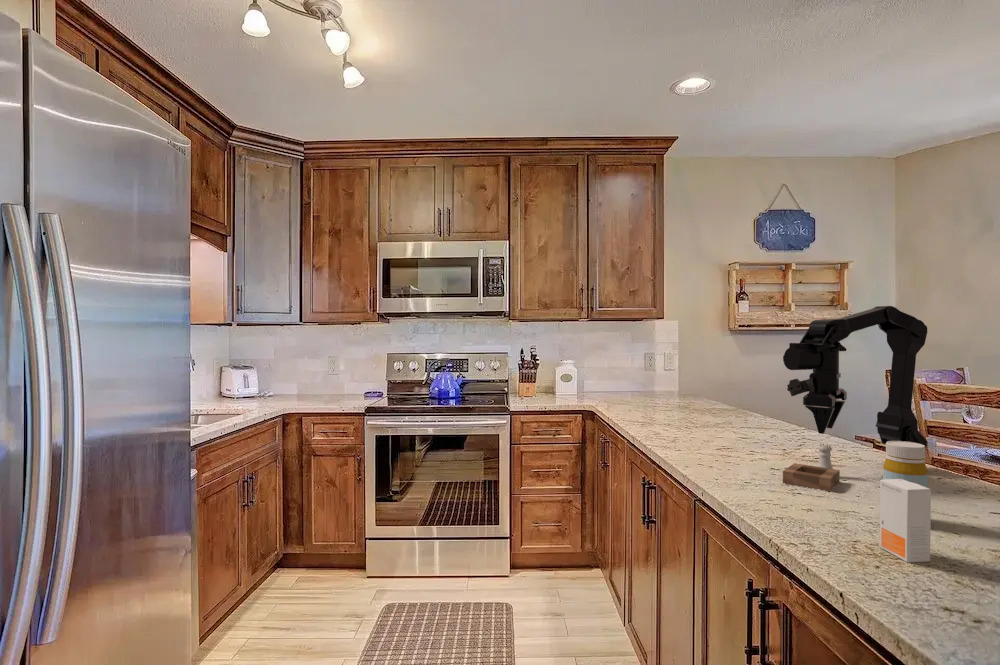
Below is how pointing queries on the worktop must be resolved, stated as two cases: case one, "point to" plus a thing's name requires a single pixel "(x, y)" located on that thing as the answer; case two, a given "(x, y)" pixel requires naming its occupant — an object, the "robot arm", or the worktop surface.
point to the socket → (811, 476)
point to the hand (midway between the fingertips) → (825, 430)
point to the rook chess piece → (824, 456)
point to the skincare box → (905, 519)
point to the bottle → (906, 462)
